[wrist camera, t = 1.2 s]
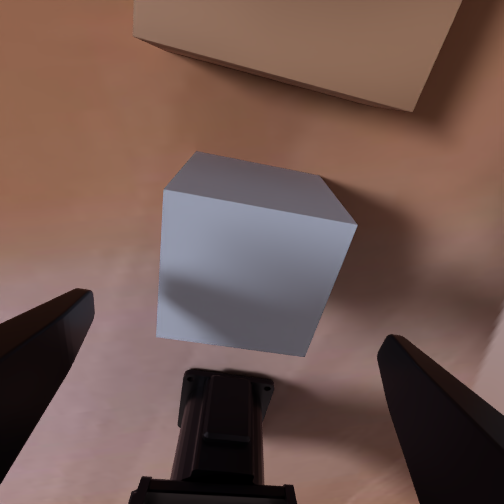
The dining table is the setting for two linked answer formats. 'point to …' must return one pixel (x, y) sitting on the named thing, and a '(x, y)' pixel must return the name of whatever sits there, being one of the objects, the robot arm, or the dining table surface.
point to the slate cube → (248, 254)
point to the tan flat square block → (310, 41)
